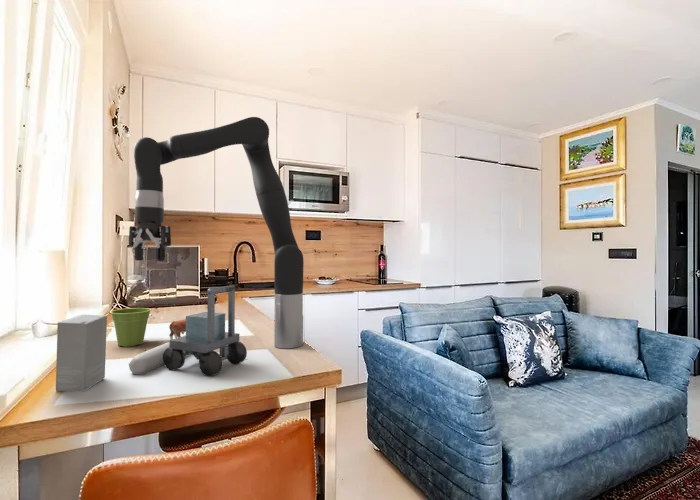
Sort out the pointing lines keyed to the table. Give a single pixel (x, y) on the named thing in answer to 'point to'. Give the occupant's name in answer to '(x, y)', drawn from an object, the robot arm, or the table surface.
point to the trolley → (208, 338)
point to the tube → (148, 359)
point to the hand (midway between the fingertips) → (149, 260)
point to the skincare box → (80, 352)
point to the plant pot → (130, 325)
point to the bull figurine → (177, 328)
